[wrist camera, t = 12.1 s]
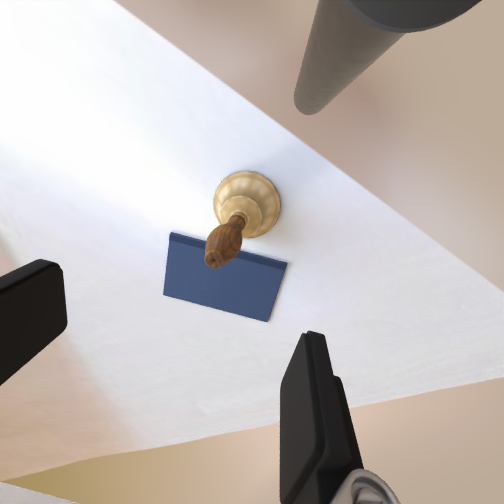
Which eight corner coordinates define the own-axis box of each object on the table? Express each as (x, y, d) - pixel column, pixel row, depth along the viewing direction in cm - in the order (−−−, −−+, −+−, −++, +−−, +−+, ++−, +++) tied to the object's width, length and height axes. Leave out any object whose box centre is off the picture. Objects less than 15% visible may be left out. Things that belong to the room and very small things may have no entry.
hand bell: (256, 249, 33) (237, 330, 18) (202, 214, 32) (136, 271, 17) (294, 196, 30) (308, 244, 15) (235, 156, 29) (190, 165, 14)
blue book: (171, 232, 33) (169, 233, 33) (287, 262, 33) (287, 264, 33) (163, 293, 37) (162, 295, 37) (267, 321, 37) (267, 322, 37)
